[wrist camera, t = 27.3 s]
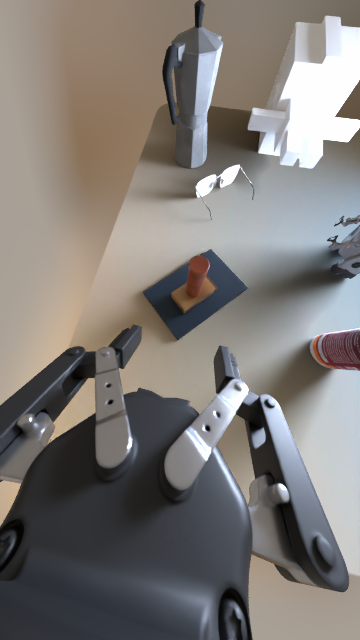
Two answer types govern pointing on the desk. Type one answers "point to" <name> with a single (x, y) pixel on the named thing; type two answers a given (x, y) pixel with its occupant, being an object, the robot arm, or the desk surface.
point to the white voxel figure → (310, 93)
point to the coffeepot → (192, 87)
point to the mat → (224, 292)
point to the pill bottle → (337, 349)
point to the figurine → (348, 250)
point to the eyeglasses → (209, 182)
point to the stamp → (194, 286)
